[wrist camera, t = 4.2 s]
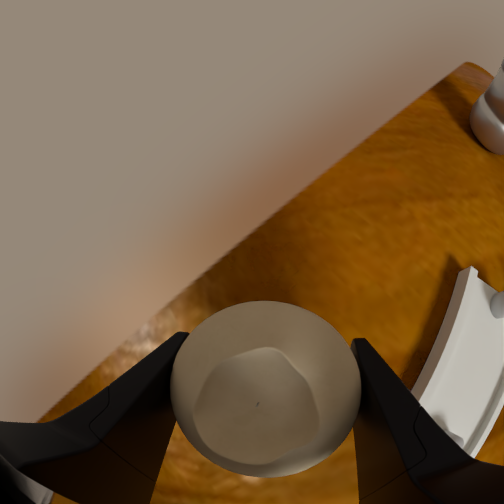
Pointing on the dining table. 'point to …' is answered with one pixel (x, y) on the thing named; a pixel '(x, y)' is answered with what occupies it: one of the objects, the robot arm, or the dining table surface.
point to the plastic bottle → (490, 115)
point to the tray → (466, 364)
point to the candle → (265, 389)
